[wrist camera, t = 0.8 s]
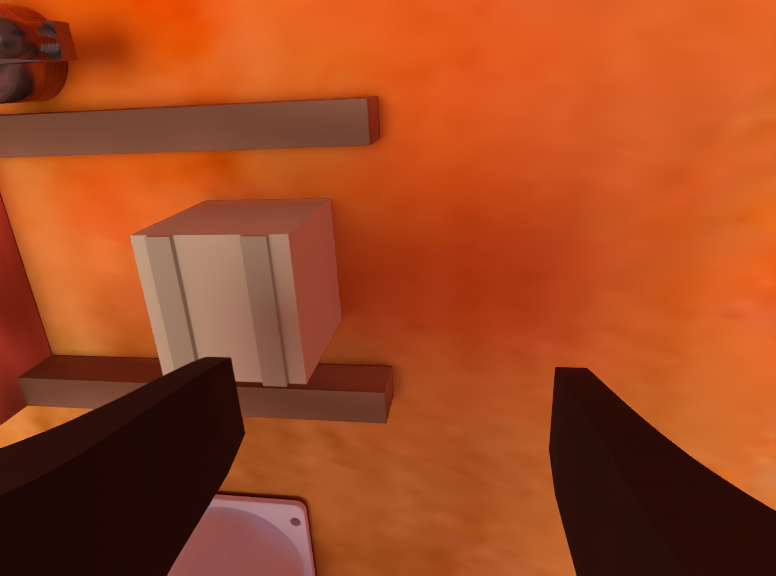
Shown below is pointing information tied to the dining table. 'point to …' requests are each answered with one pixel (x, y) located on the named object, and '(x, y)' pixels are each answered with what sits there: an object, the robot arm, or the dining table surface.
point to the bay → (172, 134)
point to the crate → (243, 286)
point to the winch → (32, 55)
